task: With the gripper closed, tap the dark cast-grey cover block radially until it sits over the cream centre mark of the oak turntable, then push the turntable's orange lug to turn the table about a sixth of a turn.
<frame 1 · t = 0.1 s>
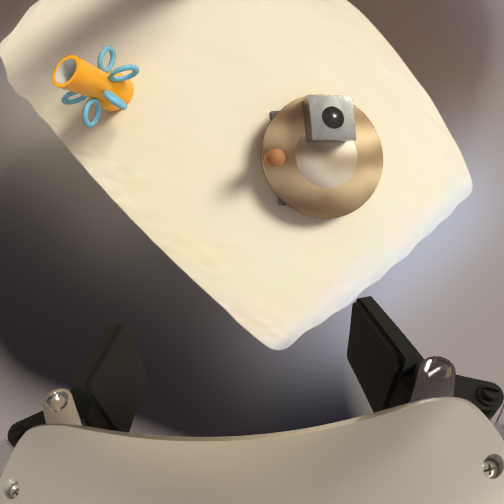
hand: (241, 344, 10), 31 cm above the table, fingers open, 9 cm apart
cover: (324, 121, 33), point 3 cm above the table, touching turntable
cylinder: (117, 94, 33), on the table
turntable: (329, 155, 34), point 4 cm above the table, hinge at 0.0°, touching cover
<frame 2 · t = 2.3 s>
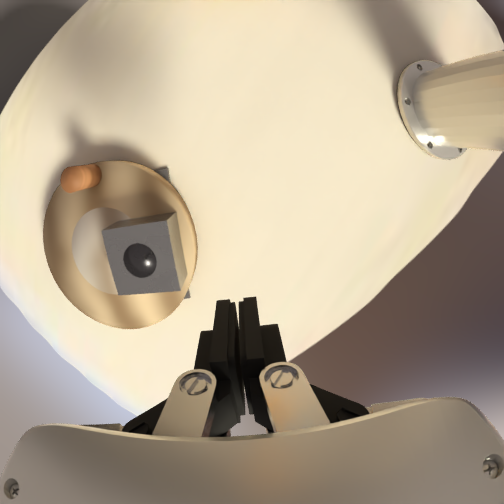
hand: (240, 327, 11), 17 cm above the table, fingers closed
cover: (151, 247, 24), point 3 cm above the table, touching turntable
turntable: (104, 255, 23), point 4 cm above the table, hinge at 0.0°, touching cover
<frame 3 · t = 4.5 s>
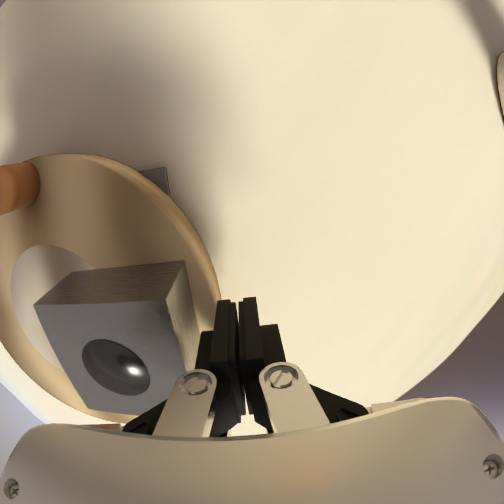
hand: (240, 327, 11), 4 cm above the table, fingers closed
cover: (138, 323, 12), point 3 cm above the table, touching gripper, turntable
susan base: (86, 298, 15), on the table
turntable: (57, 330, 11), point 4 cm above the table, hinge at 0.0°, touching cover
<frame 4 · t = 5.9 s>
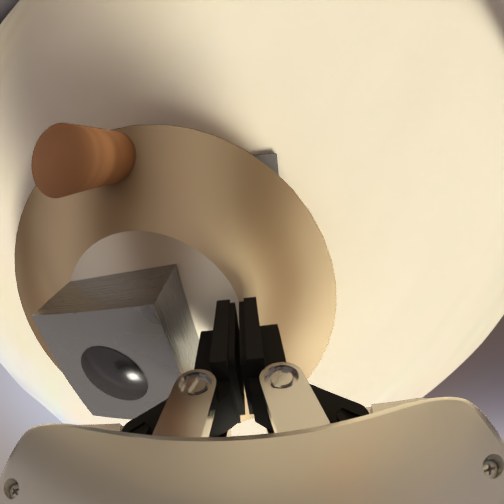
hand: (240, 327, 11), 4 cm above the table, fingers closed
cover: (137, 328, 12), point 3 cm above the table, touching turntable
turntable: (144, 333, 11), point 4 cm above the table, hinge at 0.0°, touching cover
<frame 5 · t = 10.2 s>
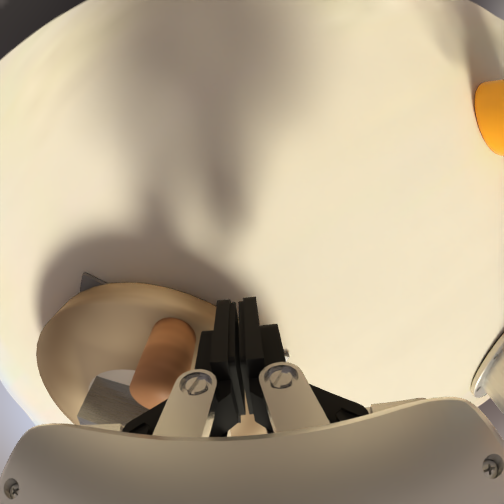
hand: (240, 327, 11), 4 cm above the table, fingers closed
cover: (143, 415, 15), point 3 cm above the table, touching turntable
cylinder: (492, 119, 12), on the table
turntable: (148, 425, 14), point 4 cm above the table, hinge at 3.7°, touching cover, gripper
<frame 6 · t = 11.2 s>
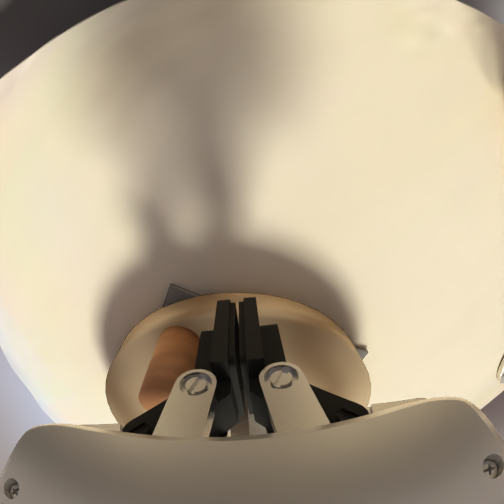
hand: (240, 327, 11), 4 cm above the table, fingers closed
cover: (232, 428, 15), point 3 cm above the table, touching turntable
susan base: (237, 394, 18), on the table
turntable: (238, 435, 14), point 4 cm above the table, hinge at 44.3°, touching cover, gripper
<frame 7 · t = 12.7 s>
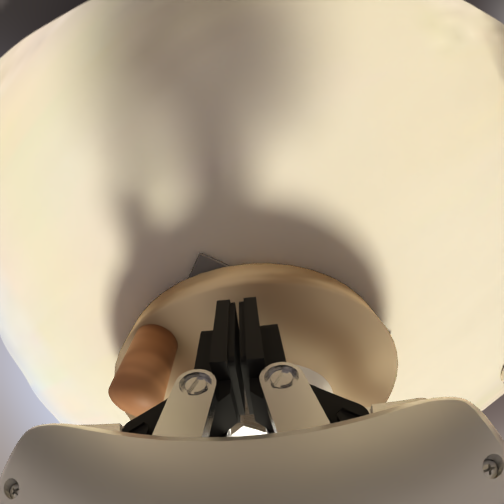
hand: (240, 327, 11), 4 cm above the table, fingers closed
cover: (255, 417, 15), point 3 cm above the table, touching turntable
susan base: (256, 381, 17), on the table
turntable: (260, 423, 14), point 4 cm above the table, hinge at 69.0°, touching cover
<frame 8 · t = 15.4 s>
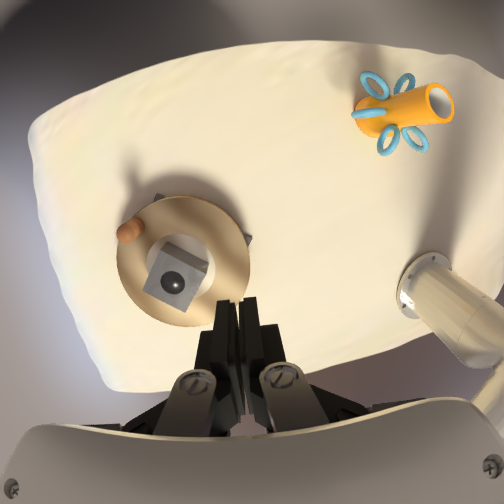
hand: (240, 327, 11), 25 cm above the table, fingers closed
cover: (178, 271, 34), point 3 cm above the table, touching turntable
cylinder: (371, 118, 32), on the table
turntable: (178, 271, 33), point 4 cm above the table, hinge at 69.0°, touching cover
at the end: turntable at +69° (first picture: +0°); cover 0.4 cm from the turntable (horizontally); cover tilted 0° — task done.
